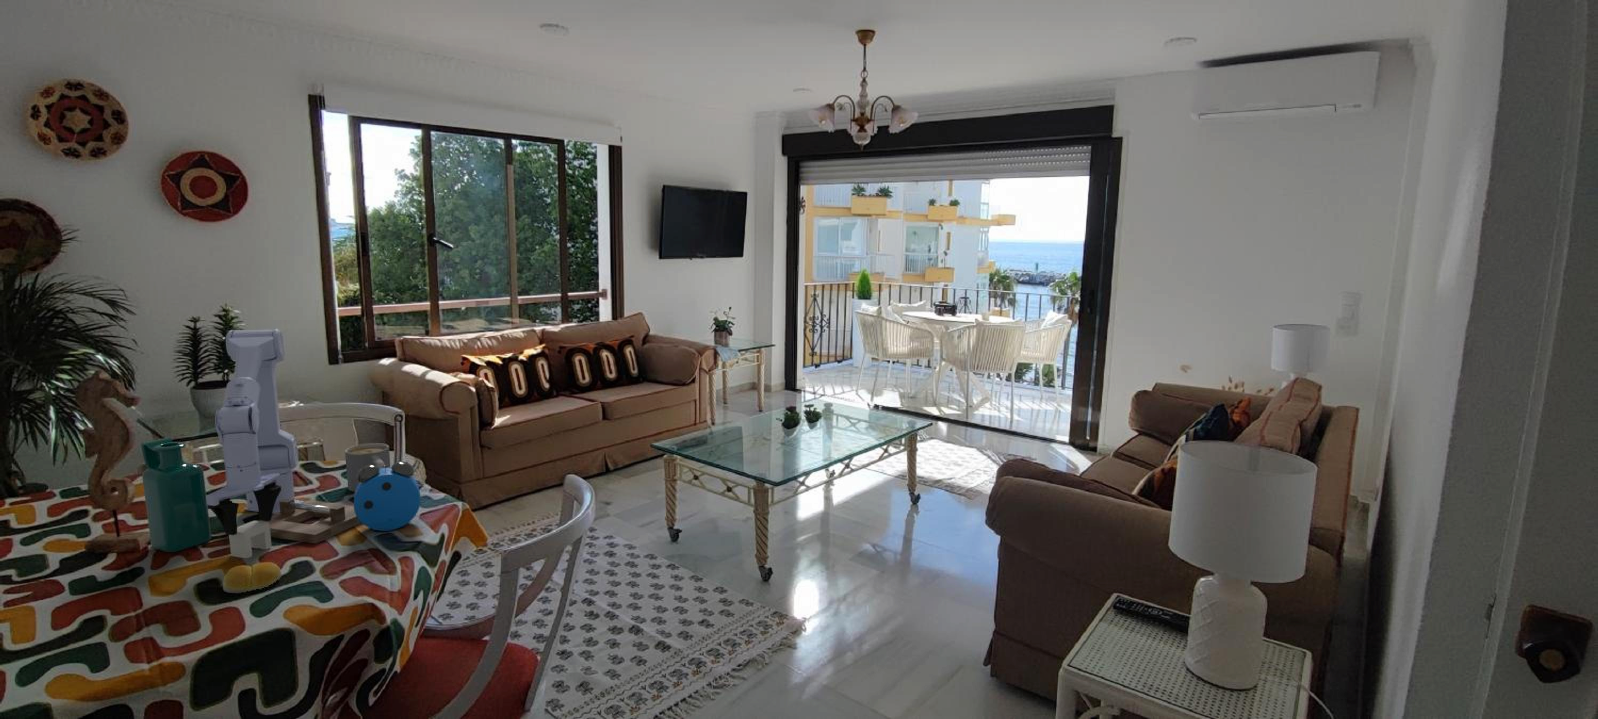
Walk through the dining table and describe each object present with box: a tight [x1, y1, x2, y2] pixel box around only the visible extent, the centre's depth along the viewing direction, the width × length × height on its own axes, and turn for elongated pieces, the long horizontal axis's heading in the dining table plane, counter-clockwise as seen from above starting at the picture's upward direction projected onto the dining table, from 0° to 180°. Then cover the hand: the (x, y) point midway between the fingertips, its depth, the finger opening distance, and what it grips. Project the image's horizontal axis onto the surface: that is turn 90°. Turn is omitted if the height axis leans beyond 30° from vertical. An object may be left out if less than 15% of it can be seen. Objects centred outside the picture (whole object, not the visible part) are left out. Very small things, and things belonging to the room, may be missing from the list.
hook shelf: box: [258, 499, 362, 544], centre depth 173 cm, size 18×16×5 cm
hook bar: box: [288, 502, 331, 514], centre depth 172 cm, size 14×1×1 cm, turn 76°
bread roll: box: [222, 561, 282, 594], centre depth 145 cm, size 8×9×4 cm
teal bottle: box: [140, 437, 212, 553], centre depth 160 cm, size 10×8×22 cm
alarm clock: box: [353, 460, 422, 532], centre depth 172 cm, size 13×6×15 cm, turn 119°
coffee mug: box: [344, 442, 392, 493], centre depth 197 cm, size 13×10×10 cm
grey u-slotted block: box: [228, 520, 272, 559], centre depth 158 cm, size 4×6×6 cm
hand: (249, 527), depth 158 cm, fingers open, 7 cm apart
